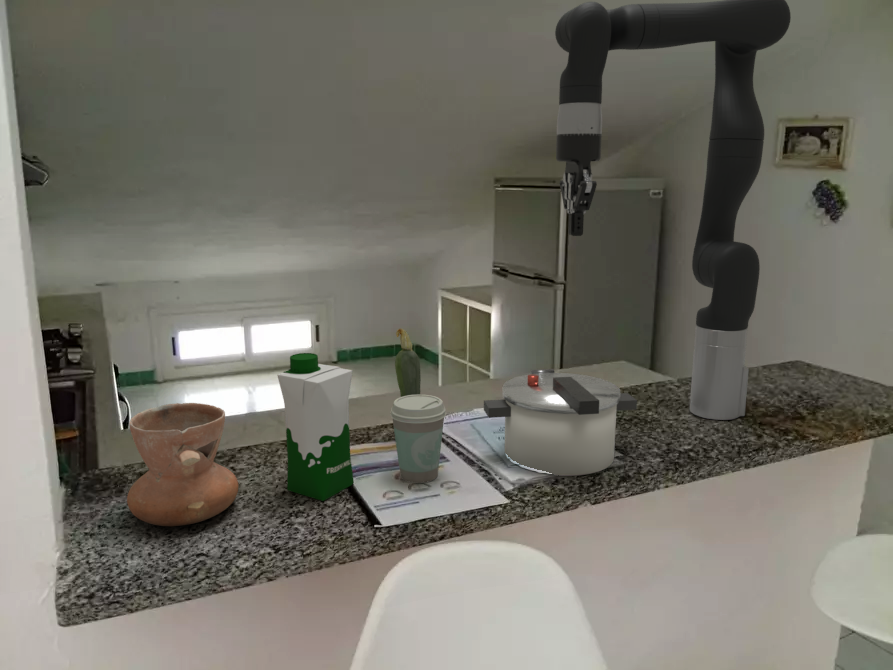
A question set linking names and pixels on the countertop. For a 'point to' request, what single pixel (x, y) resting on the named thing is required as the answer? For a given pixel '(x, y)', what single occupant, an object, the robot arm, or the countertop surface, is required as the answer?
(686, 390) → the countertop surface
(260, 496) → the countertop surface
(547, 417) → the cooker pot
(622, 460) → the countertop surface
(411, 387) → the vegetable
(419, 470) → the coffee cup
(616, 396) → the cooker lid
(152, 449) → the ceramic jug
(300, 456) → the milk carton
